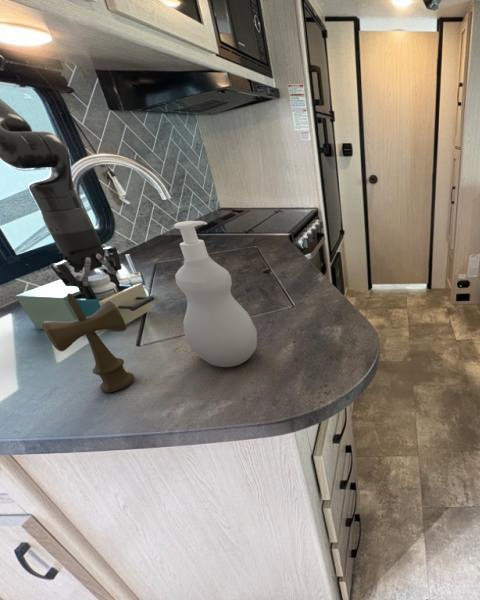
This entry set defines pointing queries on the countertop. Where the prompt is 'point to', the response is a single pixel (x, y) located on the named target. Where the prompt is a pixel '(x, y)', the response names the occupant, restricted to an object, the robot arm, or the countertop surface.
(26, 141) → the robot arm
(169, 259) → the countertop surface
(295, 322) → the countertop surface
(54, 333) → the kendama
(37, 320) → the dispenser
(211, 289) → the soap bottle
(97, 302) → the drawer
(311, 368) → the countertop surface
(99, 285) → the pill bottle
